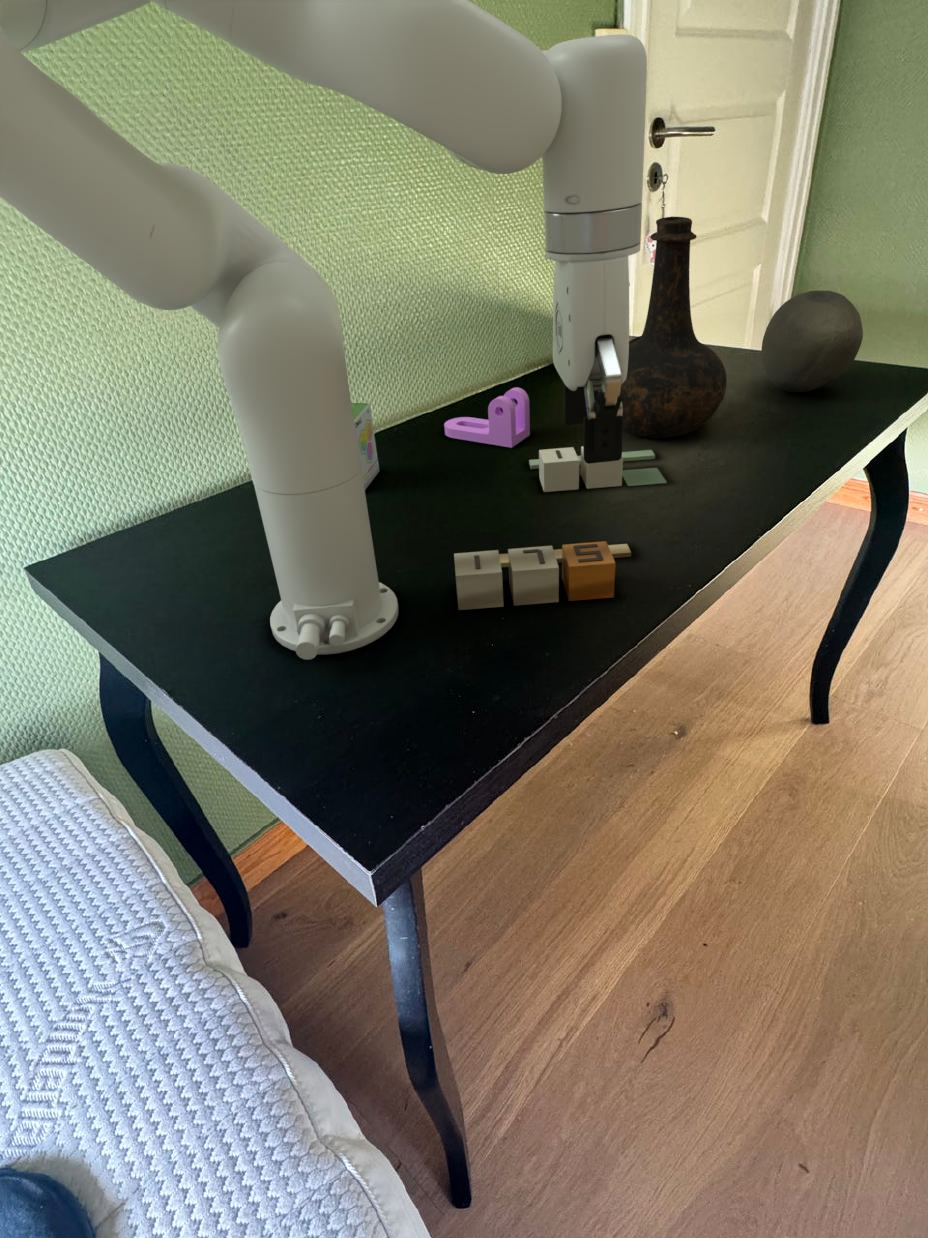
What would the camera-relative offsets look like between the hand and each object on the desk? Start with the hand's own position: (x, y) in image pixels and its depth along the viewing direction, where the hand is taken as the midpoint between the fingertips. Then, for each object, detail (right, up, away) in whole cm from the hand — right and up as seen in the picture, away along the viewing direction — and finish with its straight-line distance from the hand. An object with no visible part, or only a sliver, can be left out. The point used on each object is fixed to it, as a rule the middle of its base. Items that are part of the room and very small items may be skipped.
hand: (591, 440), depth 70 cm
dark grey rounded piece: (+43, +20, +53) cm, 71 cm away
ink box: (-26, +2, +35) cm, 43 cm away
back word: (+6, +3, +32) cm, 32 cm away
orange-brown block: (+1, -13, +8) cm, 15 cm away
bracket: (-9, +12, +46) cm, 49 cm away
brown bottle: (+17, +12, +44) cm, 49 cm away
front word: (-3, -12, +10) cm, 16 cm away
